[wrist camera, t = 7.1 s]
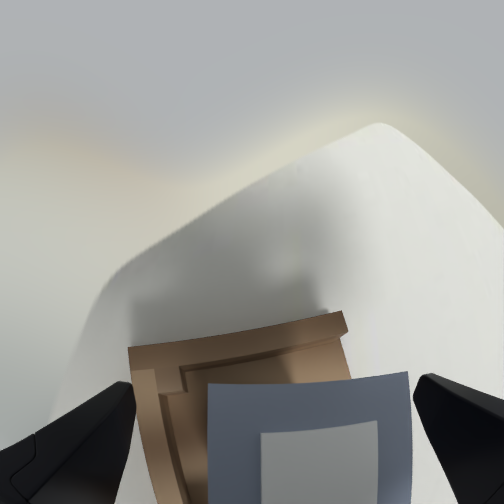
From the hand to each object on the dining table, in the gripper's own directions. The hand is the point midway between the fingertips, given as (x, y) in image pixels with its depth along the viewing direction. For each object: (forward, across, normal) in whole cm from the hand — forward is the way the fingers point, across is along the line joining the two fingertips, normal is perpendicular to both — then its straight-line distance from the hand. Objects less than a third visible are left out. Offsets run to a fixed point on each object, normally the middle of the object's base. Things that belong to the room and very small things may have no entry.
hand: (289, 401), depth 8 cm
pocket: (+5, 0, +7) cm, 8 cm away
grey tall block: (+4, 0, +7) cm, 8 cm away
